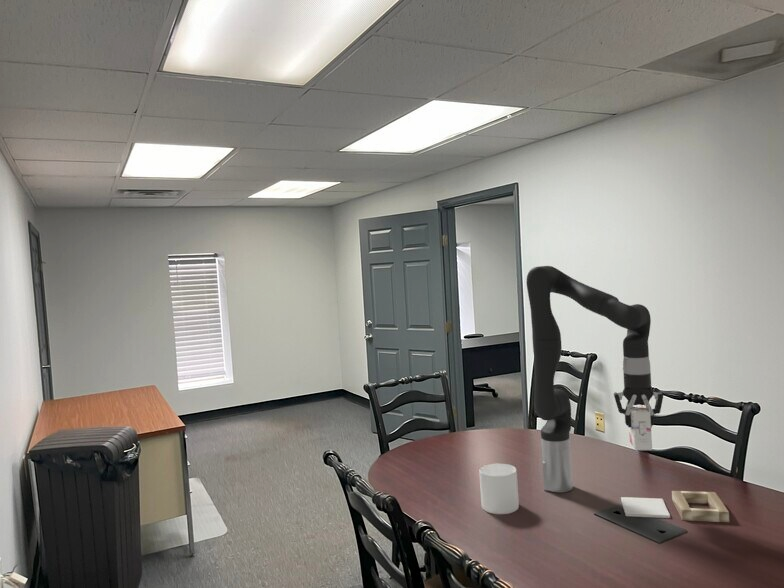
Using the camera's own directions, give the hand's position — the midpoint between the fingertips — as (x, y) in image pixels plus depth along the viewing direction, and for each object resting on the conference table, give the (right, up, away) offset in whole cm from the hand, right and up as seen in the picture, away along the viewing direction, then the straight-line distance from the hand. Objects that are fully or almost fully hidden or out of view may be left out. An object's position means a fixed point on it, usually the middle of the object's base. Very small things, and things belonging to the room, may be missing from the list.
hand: (639, 426), depth 170 cm
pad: (+2, -25, +1) cm, 25 cm away
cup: (-40, -28, +10) cm, 50 cm away
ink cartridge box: (0, -6, 0) cm, 6 cm away
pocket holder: (+16, -24, -3) cm, 29 cm away
